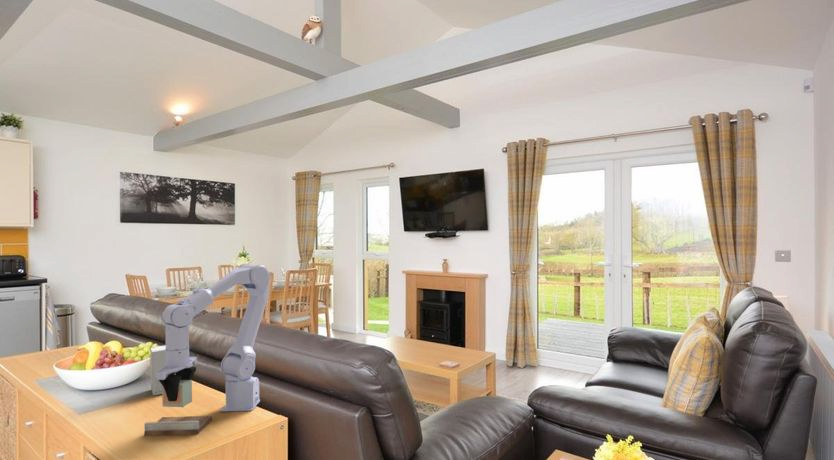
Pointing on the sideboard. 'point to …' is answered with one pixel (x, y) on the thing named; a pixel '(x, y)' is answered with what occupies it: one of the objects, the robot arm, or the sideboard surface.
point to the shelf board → (202, 424)
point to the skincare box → (157, 367)
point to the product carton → (179, 395)
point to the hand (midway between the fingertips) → (178, 397)
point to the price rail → (171, 425)
